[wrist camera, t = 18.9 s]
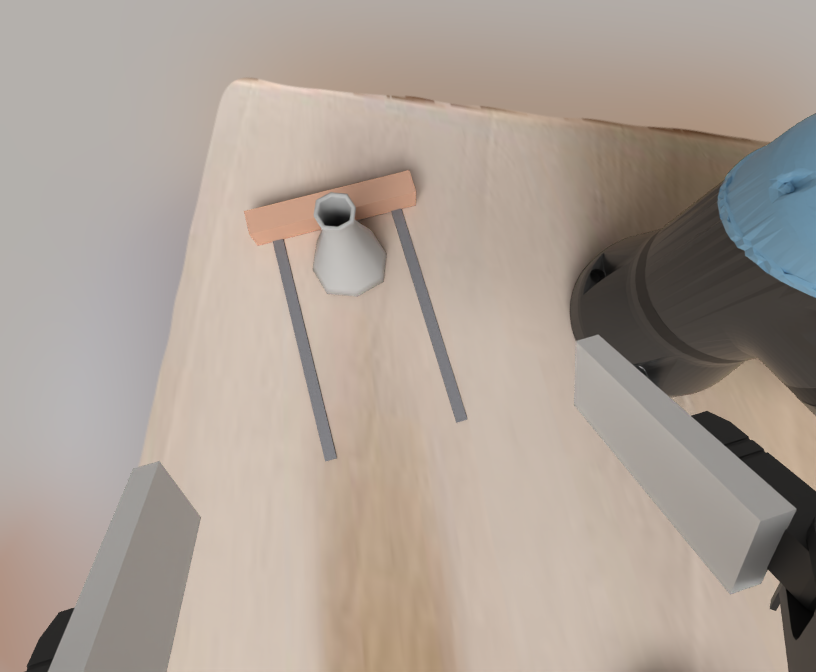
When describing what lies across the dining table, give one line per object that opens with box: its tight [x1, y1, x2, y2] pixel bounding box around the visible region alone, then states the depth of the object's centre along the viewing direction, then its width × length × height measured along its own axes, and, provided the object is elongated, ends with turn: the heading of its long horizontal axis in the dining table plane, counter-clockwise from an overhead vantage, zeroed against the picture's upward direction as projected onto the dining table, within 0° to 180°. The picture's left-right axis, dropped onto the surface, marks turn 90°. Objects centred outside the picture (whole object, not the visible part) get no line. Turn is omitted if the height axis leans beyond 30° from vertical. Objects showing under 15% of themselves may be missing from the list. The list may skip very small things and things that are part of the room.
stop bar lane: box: [244, 170, 467, 461], centre depth 40 cm, size 16×24×2 cm
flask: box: [313, 192, 386, 296], centre depth 38 cm, size 7×7×10 cm
